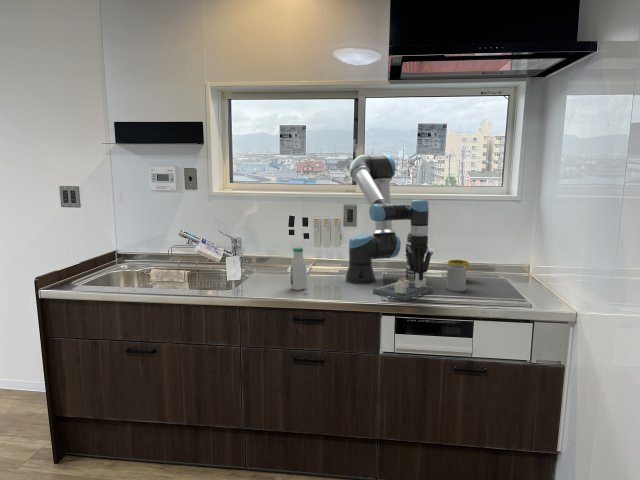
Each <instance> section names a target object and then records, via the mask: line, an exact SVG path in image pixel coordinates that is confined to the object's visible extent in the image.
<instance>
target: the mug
mask: <svg viewBox="0 0 640 480" xmlns="http://www.w3.org/2000/svg"><path fill="white" fill-rule="evenodd" d="M446 276H447V278H446V289H447V290H448V291H450V290H451V292H465V291H466V290H467V285H466V284H467V273H466V266H463V265H449V266H448V265H447V275H446Z"/></svg>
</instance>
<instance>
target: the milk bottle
mask: <svg viewBox="0 0 640 480" xmlns="http://www.w3.org/2000/svg"><path fill="white" fill-rule="evenodd" d="M292 251H293V256H292V259H291V262H290V288H292V289H291V290H293V289H295V290H294V291H302V290H301V289H304V290H306V289H307V287H308V277H307V274H308V273H307V261H306V260H305V257H304V255H303V252H304V248H303V247H302V246H301V247H300V246H299V247H298V246H297V247H293V249H292Z"/></svg>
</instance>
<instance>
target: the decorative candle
mask: <svg viewBox="0 0 640 480" xmlns="http://www.w3.org/2000/svg"><path fill="white" fill-rule="evenodd" d="M411 235H412V234H411V231H410V232H409V233H408V234H407V235H406V239H407V240H406V244H405V250H406V249H409V248H410V246H411V243H410V238H411ZM405 253H406V252H405ZM412 254H413V252H412ZM405 256H406V257H405V259H406V267H405V273H406V274H405V278H406V280H409V282H410V283H415V279H414V272H413V271H411V270H410V266H409V261H408V256H407V253H406V254H405ZM413 259H414V258H413Z"/></svg>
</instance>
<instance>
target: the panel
mask: <svg viewBox="0 0 640 480" xmlns="http://www.w3.org/2000/svg"><path fill="white" fill-rule="evenodd" d="M397 283H398V281H396V282H393V283H390V284H386V285H383V286H379V287H377V288H374V289H372V294H374V295H378V296H381V297H386V296H390V297H394V298H397V299H396V300H399V301H405V302H407V301H410V300H412V299H411V298H413V297H416V296H419V295H421V296H423V295H422V294H424V295H426V293H427V294H430V293H432V292H434V286H430V285H426V286H424V287H419V288H416V287H415V283H410V282H409V288H406V293H404V294H400V293H395V284H397ZM429 292H430V293H429ZM390 297H389V298H390ZM419 297H420V296H419ZM394 298H393V299H394ZM416 298H417V297H416ZM413 299H414V298H413Z"/></svg>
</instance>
